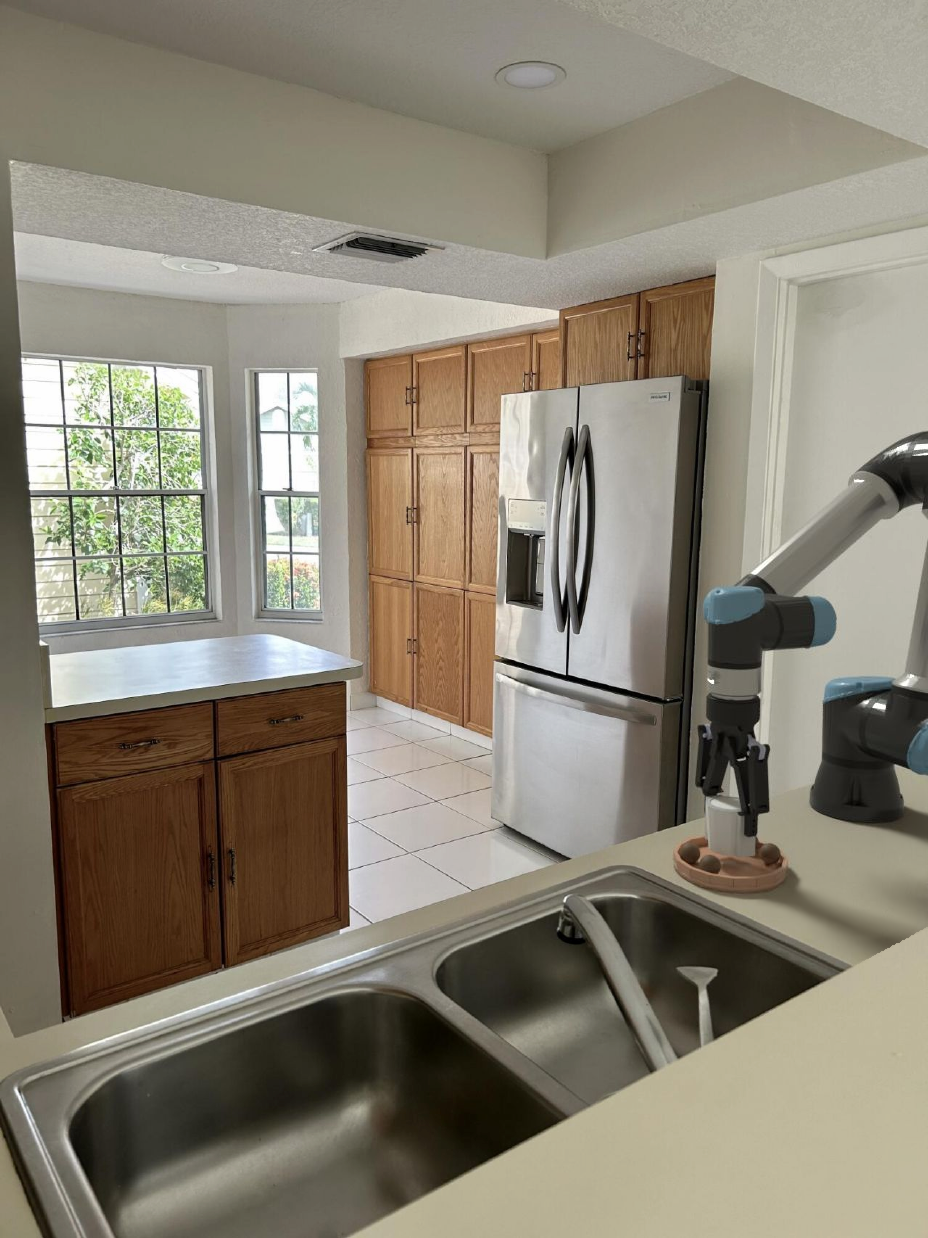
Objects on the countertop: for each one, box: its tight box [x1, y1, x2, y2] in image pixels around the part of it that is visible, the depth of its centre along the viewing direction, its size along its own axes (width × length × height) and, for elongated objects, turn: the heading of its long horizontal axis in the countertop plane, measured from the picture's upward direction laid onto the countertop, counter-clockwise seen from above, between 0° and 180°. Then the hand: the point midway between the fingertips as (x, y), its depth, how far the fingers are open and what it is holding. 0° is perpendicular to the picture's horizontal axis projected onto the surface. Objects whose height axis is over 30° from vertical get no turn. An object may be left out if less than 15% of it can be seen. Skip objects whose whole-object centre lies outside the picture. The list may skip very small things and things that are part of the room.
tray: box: [672, 834, 789, 894], centre depth 135 cm, size 16×16×2 cm
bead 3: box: [755, 835, 760, 850], centre depth 139 cm, size 3×3×3 cm
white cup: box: [705, 795, 750, 856], centre depth 134 cm, size 7×7×7 cm
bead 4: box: [759, 842, 781, 864], centre depth 134 cm, size 3×3×3 cm
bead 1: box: [680, 843, 700, 864], centre depth 135 cm, size 3×3×3 cm
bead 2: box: [699, 855, 721, 874], centre depth 130 cm, size 3×3×3 cm
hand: (729, 846), depth 134 cm, fingers closed on white cup, 7 cm apart
